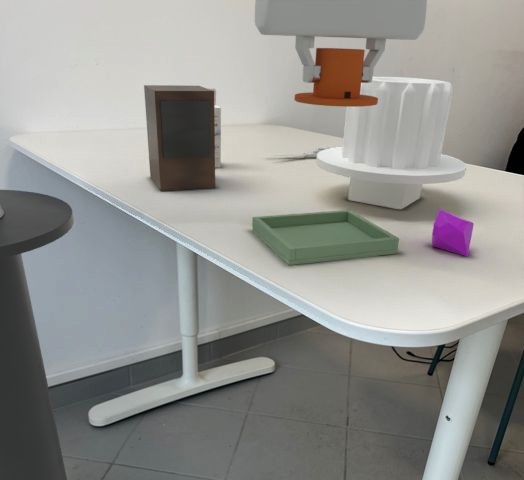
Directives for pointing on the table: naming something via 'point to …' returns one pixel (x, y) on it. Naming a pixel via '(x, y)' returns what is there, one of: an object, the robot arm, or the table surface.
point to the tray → (323, 236)
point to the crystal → (452, 233)
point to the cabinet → (180, 136)
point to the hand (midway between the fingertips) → (337, 82)
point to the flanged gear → (395, 142)
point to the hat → (338, 79)
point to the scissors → (310, 154)
